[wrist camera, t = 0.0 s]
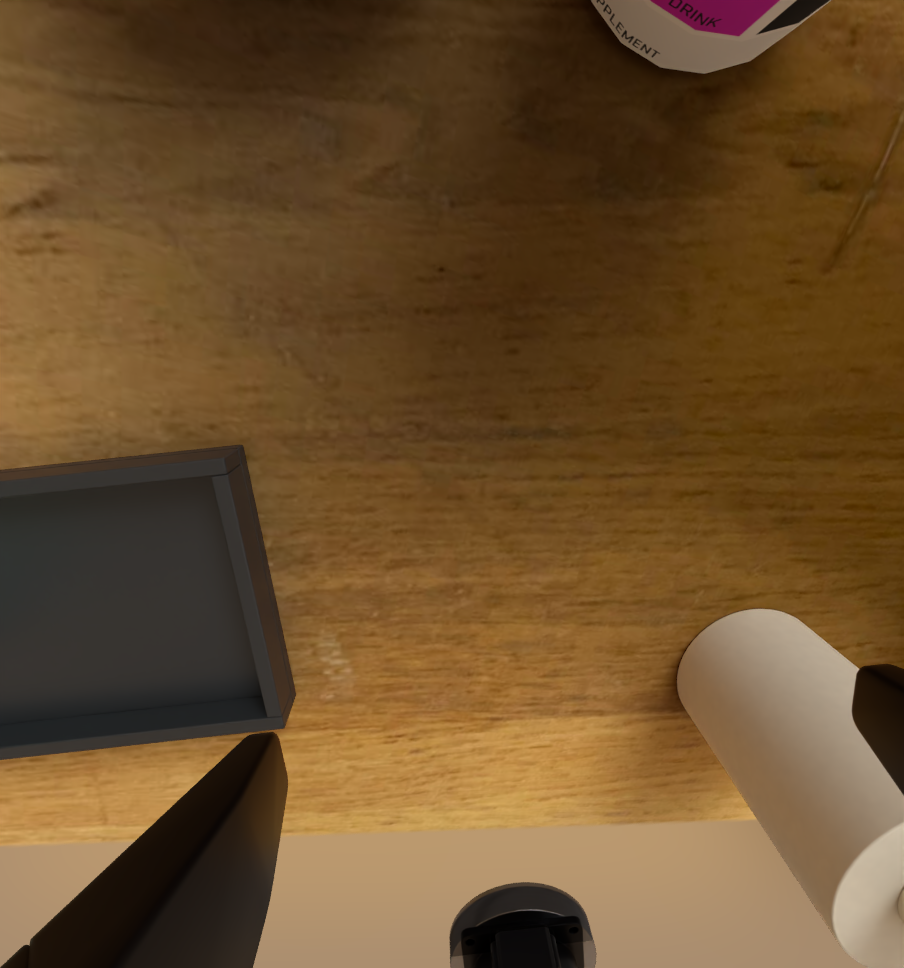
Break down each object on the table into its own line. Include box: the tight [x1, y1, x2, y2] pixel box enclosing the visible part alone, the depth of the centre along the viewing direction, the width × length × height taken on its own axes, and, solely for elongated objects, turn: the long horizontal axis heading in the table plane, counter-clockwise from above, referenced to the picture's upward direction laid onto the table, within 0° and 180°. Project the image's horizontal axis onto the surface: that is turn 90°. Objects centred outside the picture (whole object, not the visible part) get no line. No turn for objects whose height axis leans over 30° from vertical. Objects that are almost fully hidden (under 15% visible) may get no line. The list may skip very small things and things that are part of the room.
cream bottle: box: [677, 609, 904, 968], centre depth 19 cm, size 6×6×13 cm
